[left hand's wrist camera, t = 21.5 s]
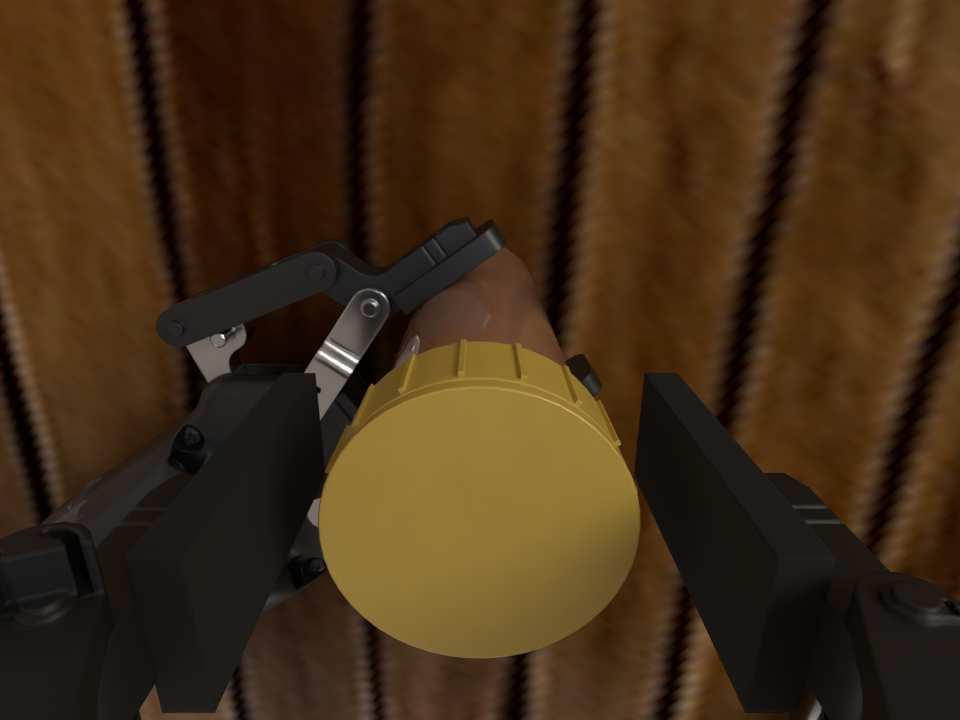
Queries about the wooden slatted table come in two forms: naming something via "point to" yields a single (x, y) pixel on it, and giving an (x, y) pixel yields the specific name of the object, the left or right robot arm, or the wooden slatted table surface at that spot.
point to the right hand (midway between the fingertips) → (545, 303)
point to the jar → (484, 312)
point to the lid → (479, 503)
